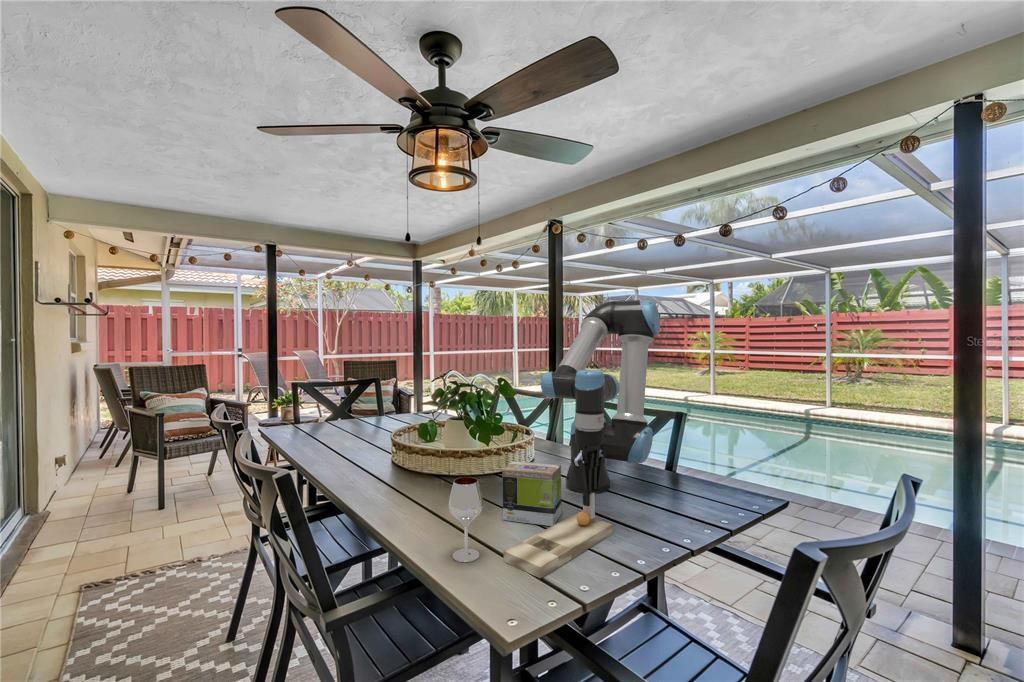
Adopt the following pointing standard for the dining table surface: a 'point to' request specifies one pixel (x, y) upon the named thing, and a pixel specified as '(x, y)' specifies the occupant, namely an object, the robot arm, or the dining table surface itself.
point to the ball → (583, 518)
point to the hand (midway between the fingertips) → (588, 516)
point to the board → (556, 545)
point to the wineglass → (465, 511)
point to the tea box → (532, 492)
